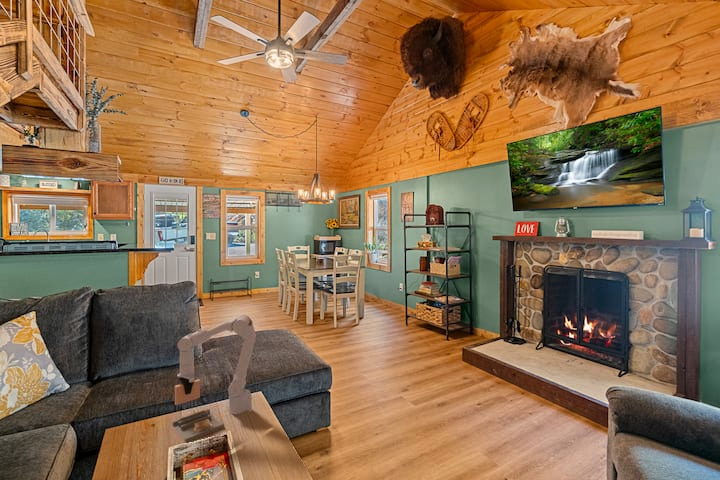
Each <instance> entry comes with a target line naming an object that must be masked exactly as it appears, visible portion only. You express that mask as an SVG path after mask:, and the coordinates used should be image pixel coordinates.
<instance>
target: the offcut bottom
mask: <svg viewBox="0 0 720 480" xmlns="http://www.w3.org/2000/svg"><path fill="white" fill-rule="evenodd" d="M211 427H213V425H212V424H211V423H210V427H207V428H204V429H201V430H198V431H196V429H195V428H194V432H195V433H199V432H201V431H204V430H206V429H209V428H211Z"/></svg>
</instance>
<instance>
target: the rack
mask: <svg viewBox="0 0 720 480" xmlns="http://www.w3.org/2000/svg"><path fill="white" fill-rule="evenodd" d="M207 419H208V420H209V422H210V423H211V424H212V425H213V427H211V428H209V429H206V430H204V431H201V432H199V433H195V432H194V428H195V423H197V422H201V421H204V420H207ZM172 426H173V428H174V429H175V431H176V432H177V433H178V435H179V436H180V437H181V438H182V440H183V442H184V443H185V444H187V443H189V442H191V441H194V440H196V439H199V438H202V437H204V436H206V435H209V434H211V433H214V432H216V431H220V430H221V429H224V428H225V423H223V422H222V423H221V422H220V421H219V420H217V418H216V417H214V415H213V414H212V412H211V409H210V408H207V409H204V410H201V411H198V412H195V413H192V414H190V415H187V416H184V417H182V418H181V417H180V418H178V419H175V420H173V421H172ZM186 442H187V443H186Z"/></svg>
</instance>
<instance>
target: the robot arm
mask: <svg viewBox="0 0 720 480" xmlns="http://www.w3.org/2000/svg"><path fill="white" fill-rule="evenodd" d="M225 331H228V332H231V333H232V332H234V333H235V334H237V335H238V336H240V337H241V338H242V340H243V344H242V348H241V352H240V355H239V358H238V362H237V365H236V369H235V374H234V375H233V379H232V381H231V382H230V384H229V386H228V388H227V393H228V412H229V414H231V415H240V414H242V413H244V412H246V411H247V412H248V413H252V412H253V409H252V407H253V404H252V403H253V402H252V400H253V399H252V398H253V397H252V394H251V391H250V390H249V389H246V388H245V386H246V384H247V372H248V367H249V364H250V360H251V356H252V353H253V349H254V345H255V341H256V338H257V334H256V331H255V327H254V323H253V320H252V319H251V318H250V317H249V316H248V315H246V314H245V315H243V314H242V315H240V316H237V317H236V316H235V317H233V318H231V319H229V320H227V321H224V322H222V323H220V324H218V325H215V326H214V327H211V328H209V329H208V328H202V327H201V328H199V329H197V331H195V332H193V333H191V332H190V333H188V334H187V335H184V336H183V337H182V338H181V339H179V341H178V342H177V348H178V350H179V373H177V375H176V377H177V378H178V379H179V382H180V384H183V386H184V391H185V394H186V395H187V394H190V393H191V390H192V386H193V383H194V381H195V380H197V378H196V377H195V373H196V371H195V351H194V350H195V349H194V348H195V347H197V346H199V345H201V344H203V343H205V342H208V341H210V339H211V337H213V336H215V335H217V334H221V333H224V332H225Z"/></svg>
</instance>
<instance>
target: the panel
mask: <svg viewBox="0 0 720 480" xmlns="http://www.w3.org/2000/svg"><path fill="white" fill-rule="evenodd" d="M200 398H201V380H200V379H198V378H196V380H195V381H194V383H193V386H192V390H191V393H190V394H187V395H186V394H185V391H184V386H183V384H181V383H180V384H177V385H174V404H175V406H179V405H182V404H185V403H188V402H190V401H195V400H197V399H200Z"/></svg>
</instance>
